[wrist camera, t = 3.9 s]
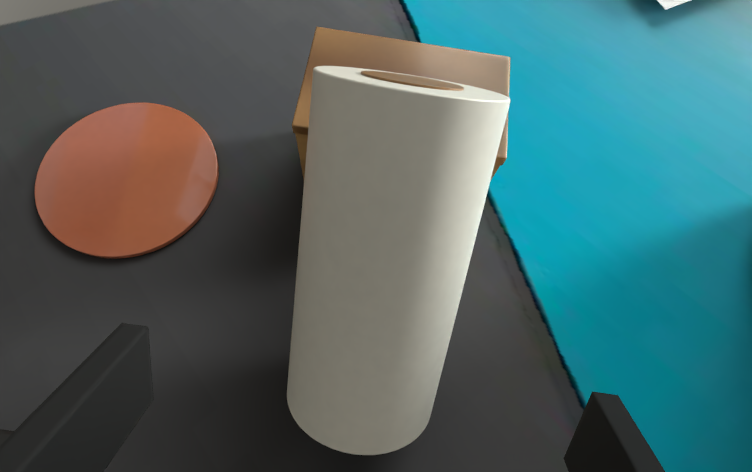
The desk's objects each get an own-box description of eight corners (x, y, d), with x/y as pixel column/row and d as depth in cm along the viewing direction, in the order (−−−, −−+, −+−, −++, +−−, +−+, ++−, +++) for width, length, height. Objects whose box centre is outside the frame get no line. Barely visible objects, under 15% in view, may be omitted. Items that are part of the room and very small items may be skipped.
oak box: (463, 227, 29) (507, 158, 21) (306, 203, 29) (291, 125, 21) (469, 146, 31) (510, 56, 23) (323, 123, 31) (316, 26, 23)
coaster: (177, 82, 32) (175, 78, 31) (248, 205, 29) (247, 202, 28) (14, 149, 29) (10, 146, 29) (73, 292, 26) (69, 290, 26)
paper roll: (418, 455, 24) (530, 525, 9) (284, 435, 24) (188, 474, 9) (442, 195, 30) (536, -13, 15) (334, 178, 30) (324, -46, 15)
